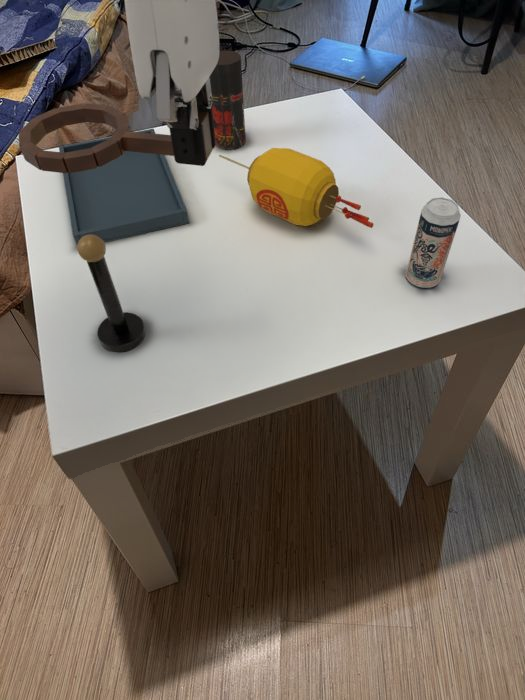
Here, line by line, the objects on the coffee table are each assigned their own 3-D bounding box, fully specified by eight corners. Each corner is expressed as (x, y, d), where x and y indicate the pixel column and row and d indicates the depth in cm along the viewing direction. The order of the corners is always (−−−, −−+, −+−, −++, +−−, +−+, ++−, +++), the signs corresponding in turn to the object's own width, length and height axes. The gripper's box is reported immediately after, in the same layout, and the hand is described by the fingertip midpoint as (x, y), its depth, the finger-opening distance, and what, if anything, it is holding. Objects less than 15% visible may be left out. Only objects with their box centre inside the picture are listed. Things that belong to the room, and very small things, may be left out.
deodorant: (211, 137, 101) (201, 53, 89) (240, 131, 102) (235, 48, 90) (218, 152, 97) (210, 67, 85) (249, 146, 98) (245, 61, 86)
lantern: (395, 172, 72) (230, 111, 84) (356, 220, 69) (191, 150, 81) (392, 222, 80) (243, 160, 93) (357, 267, 78) (208, 197, 90)
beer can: (400, 283, 73) (417, 212, 64) (411, 263, 76) (429, 191, 67) (434, 294, 72) (457, 222, 63) (443, 273, 75) (467, 201, 65)
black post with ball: (102, 357, 66) (61, 261, 54) (96, 324, 70) (57, 227, 58) (149, 345, 68) (119, 248, 55) (141, 313, 71) (111, 215, 59)
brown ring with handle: (4, 167, 53) (-13, 129, 50) (55, 114, 60) (43, 78, 57) (192, 187, 50) (187, 148, 47) (224, 128, 57) (220, 91, 54)
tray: (77, 248, 80) (73, 235, 79) (62, 158, 97) (58, 146, 95) (189, 223, 84) (187, 210, 82) (155, 140, 100) (153, 128, 99)
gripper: (155, -97, 45) (186, 114, 59) (71, -42, 35) (132, 196, 49) (240, -96, 44) (250, 119, 58) (177, -38, 34) (208, 205, 48)
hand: (195, 153), depth 53 cm, fingers closed on brown ring with handle, 2 cm apart
